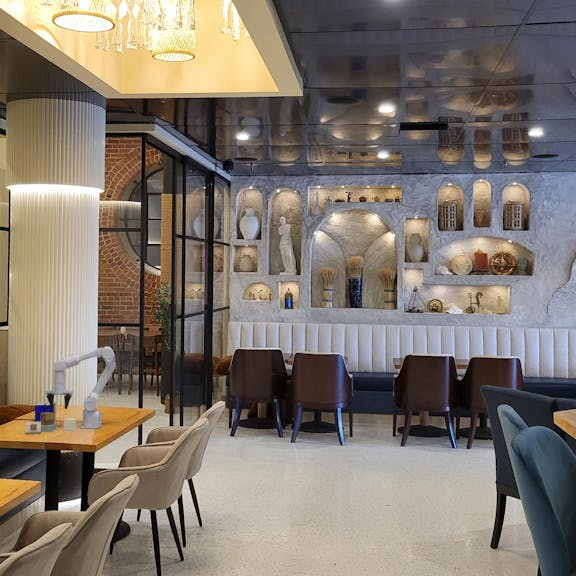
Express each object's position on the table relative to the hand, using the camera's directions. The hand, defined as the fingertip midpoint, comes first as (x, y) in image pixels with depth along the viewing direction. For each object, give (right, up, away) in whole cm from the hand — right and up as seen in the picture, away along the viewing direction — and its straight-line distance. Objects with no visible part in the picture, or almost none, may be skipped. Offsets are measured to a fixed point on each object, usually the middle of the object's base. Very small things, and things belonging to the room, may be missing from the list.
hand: (59, 408), depth 392 cm
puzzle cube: (-14, -11, +20) cm, 26 cm away
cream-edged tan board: (-8, -10, -16) cm, 20 cm away
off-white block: (+8, -11, -6) cm, 14 cm away
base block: (-5, -11, -7) cm, 14 cm away
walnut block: (-4, -7, -7) cm, 11 cm away
